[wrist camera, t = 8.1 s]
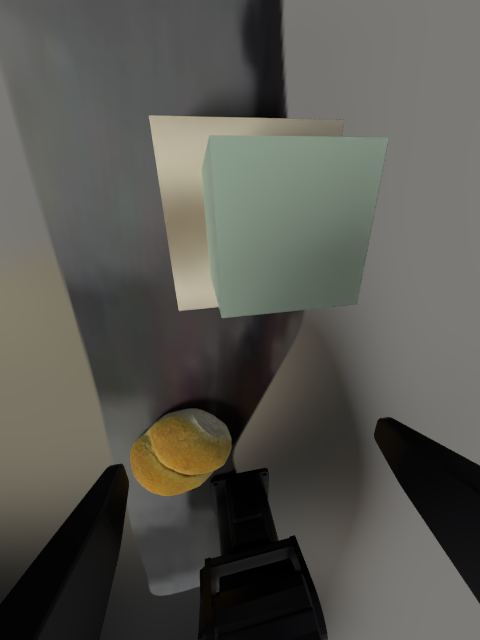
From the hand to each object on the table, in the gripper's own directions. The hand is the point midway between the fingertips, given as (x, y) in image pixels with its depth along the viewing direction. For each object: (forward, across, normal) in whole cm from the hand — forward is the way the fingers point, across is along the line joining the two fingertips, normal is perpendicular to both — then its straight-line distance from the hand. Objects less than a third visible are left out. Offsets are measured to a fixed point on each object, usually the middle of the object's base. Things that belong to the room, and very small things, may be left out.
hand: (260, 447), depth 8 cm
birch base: (+11, -2, -7) cm, 13 cm away
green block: (+8, -2, -7) cm, 10 cm away
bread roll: (+12, +5, +12) cm, 18 cm away
